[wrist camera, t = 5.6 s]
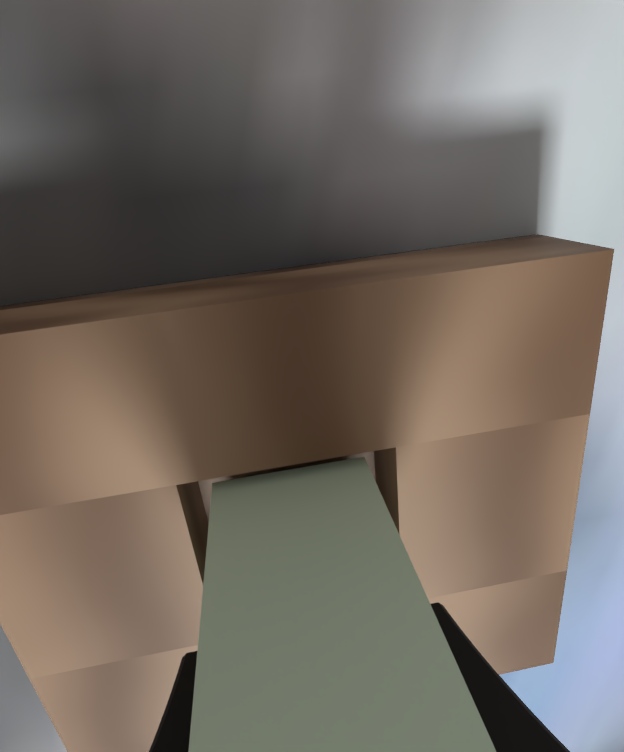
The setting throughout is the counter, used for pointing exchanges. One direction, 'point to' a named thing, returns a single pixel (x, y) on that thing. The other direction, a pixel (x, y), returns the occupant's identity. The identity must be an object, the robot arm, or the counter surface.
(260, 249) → the counter surface
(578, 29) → the counter surface
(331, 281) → the socket block
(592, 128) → the counter surface
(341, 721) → the peg
